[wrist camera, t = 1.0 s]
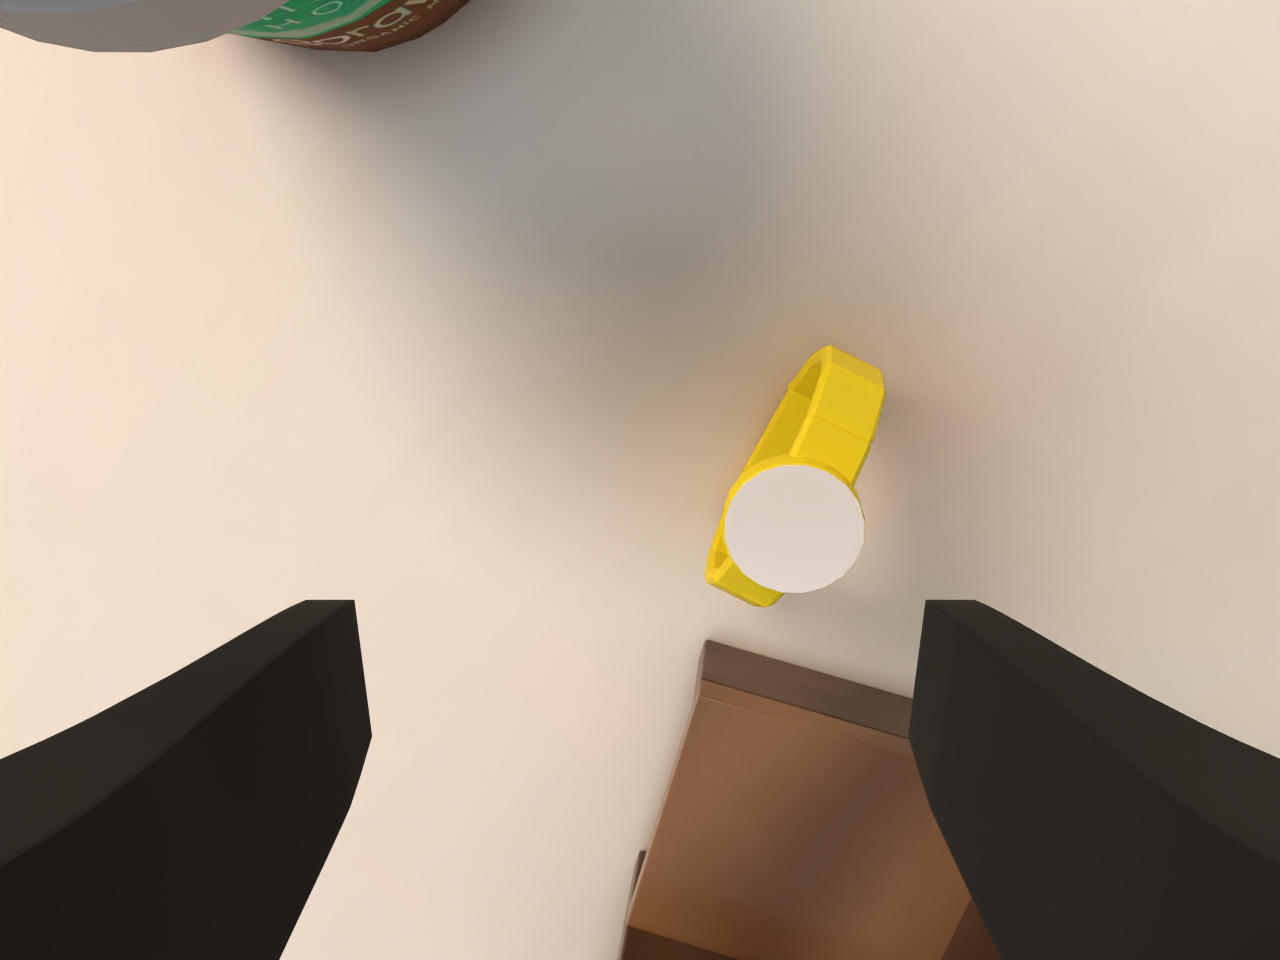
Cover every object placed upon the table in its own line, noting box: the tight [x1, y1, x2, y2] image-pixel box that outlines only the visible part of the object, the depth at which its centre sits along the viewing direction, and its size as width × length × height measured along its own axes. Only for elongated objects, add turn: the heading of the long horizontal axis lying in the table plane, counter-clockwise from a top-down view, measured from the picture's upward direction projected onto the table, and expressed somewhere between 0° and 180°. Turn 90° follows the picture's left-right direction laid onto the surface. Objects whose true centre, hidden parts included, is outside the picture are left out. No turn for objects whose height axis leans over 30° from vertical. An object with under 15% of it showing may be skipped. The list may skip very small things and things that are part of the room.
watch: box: [705, 345, 885, 607], centre depth 20 cm, size 6×3×6 cm, turn 155°
